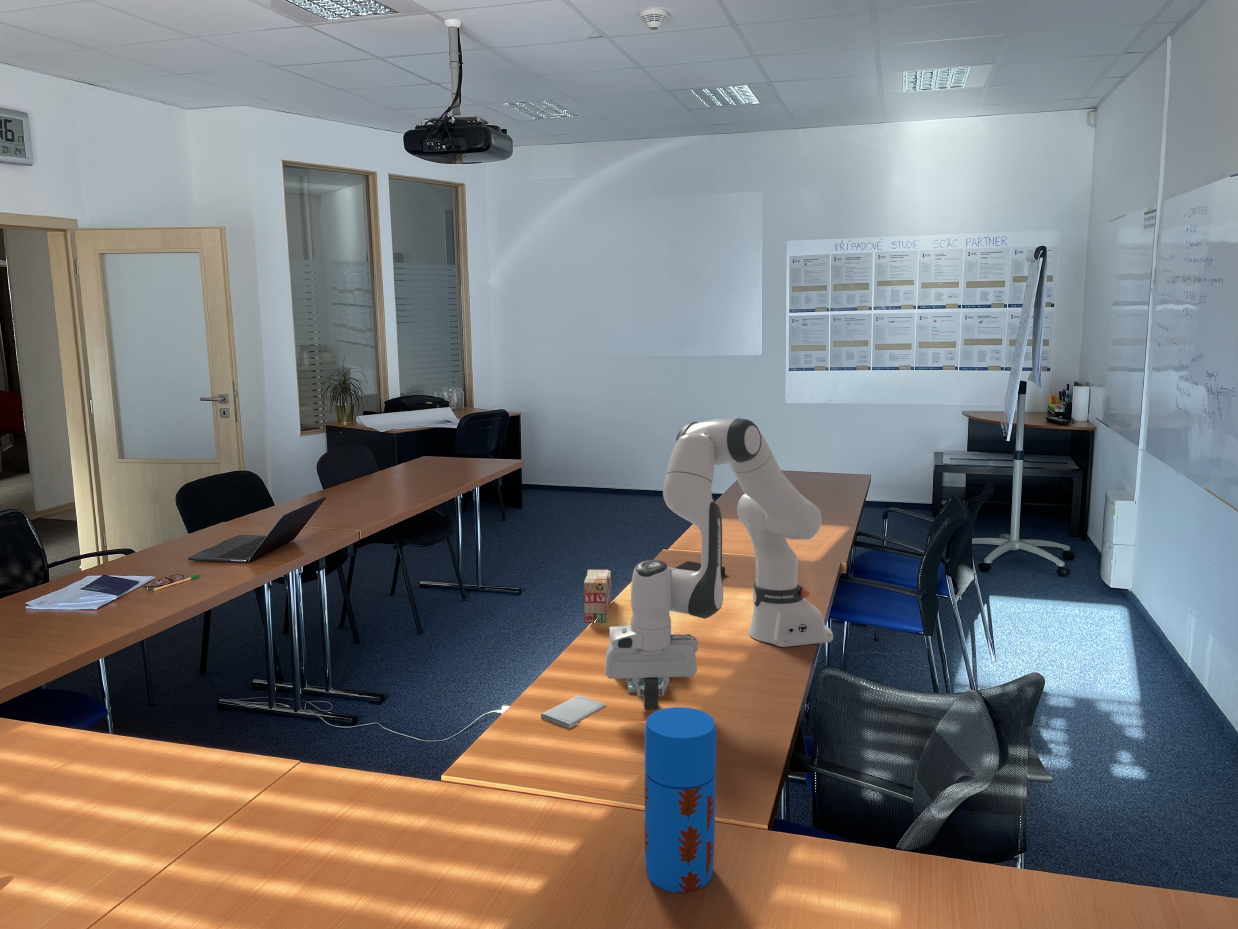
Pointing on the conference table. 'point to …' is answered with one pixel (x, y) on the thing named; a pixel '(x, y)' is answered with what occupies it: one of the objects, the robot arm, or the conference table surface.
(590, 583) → the stack of blocks
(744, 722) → the conference table surface
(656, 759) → the thermos
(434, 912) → the conference table surface
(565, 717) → the hard drive
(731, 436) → the robot arm
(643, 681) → the teal block with handle
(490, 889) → the conference table surface
